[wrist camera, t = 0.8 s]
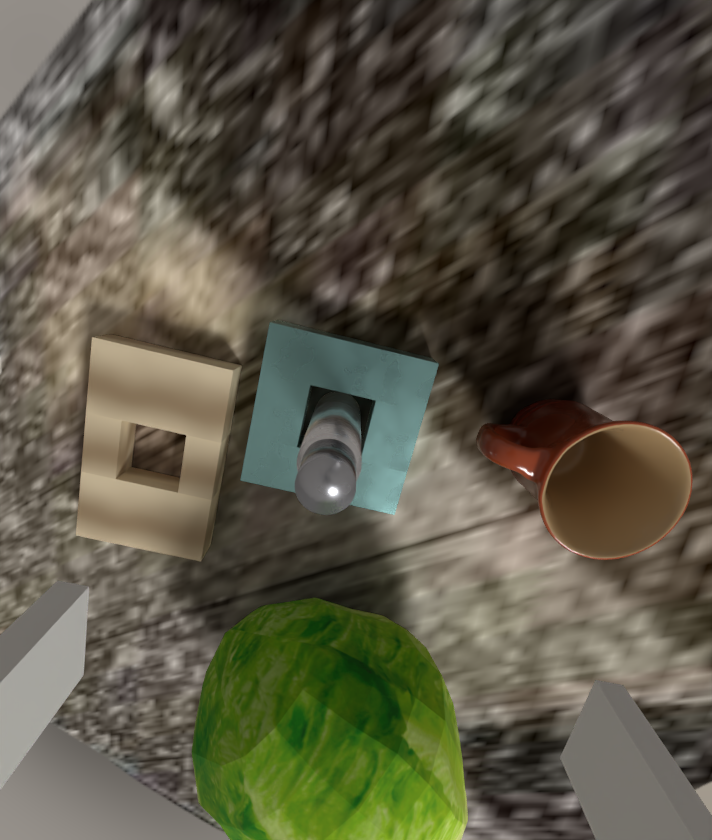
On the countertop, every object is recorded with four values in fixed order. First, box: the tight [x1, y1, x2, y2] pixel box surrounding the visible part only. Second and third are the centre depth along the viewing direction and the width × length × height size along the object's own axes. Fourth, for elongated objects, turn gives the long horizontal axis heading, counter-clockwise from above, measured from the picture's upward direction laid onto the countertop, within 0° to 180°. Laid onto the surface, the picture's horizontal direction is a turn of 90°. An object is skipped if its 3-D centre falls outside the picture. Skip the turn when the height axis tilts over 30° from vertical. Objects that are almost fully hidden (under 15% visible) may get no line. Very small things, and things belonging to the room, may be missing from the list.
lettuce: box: [192, 598, 468, 840], centre depth 33 cm, size 19×25×17 cm
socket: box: [240, 320, 439, 515], centre depth 34 cm, size 12×12×3 cm
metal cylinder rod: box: [295, 391, 362, 515], centre depth 28 cm, size 4×4×14 cm
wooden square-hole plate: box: [76, 334, 242, 562], centre depth 35 cm, size 16×10×2 cm, turn 166°
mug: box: [476, 399, 692, 560], centre depth 30 cm, size 12×9×10 cm
